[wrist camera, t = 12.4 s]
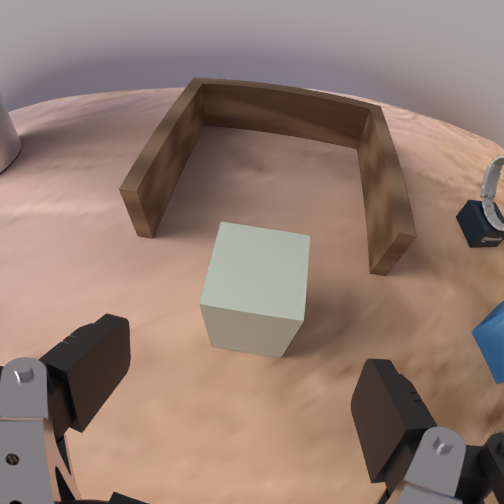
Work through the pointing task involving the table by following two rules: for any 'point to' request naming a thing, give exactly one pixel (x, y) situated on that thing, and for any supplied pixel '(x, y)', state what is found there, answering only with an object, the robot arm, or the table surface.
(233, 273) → the sage block
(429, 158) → the table surface
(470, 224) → the watch
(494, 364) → the perfume bottle
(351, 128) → the walnut u-shaped frame
